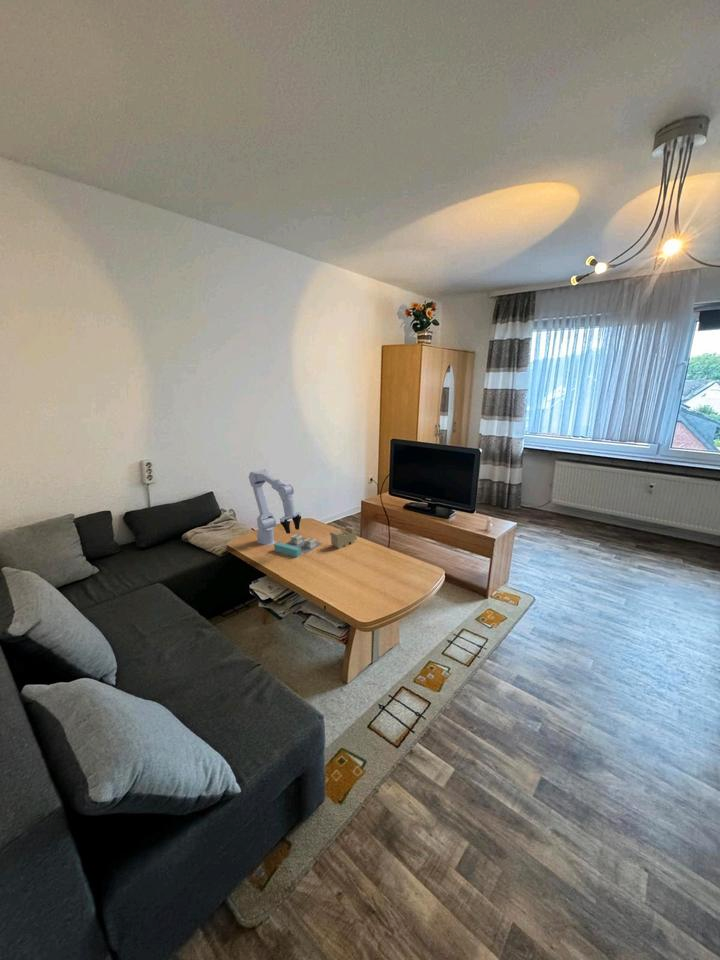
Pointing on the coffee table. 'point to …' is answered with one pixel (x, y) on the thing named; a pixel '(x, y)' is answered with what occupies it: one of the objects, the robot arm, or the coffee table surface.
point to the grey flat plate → (304, 549)
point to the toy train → (343, 537)
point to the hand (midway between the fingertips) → (292, 531)
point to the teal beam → (287, 549)
